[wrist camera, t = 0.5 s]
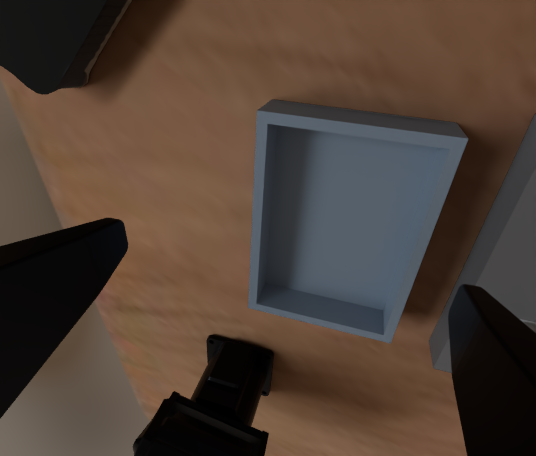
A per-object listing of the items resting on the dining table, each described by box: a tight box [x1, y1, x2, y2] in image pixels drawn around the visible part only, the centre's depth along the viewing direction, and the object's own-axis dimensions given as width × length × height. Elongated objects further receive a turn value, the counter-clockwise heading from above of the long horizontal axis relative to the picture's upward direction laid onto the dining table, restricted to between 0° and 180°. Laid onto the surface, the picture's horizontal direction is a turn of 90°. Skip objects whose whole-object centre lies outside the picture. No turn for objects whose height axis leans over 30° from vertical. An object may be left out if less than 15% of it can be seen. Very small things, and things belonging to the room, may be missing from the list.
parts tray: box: [248, 100, 468, 343], centre depth 22 cm, size 14×10×3 cm
